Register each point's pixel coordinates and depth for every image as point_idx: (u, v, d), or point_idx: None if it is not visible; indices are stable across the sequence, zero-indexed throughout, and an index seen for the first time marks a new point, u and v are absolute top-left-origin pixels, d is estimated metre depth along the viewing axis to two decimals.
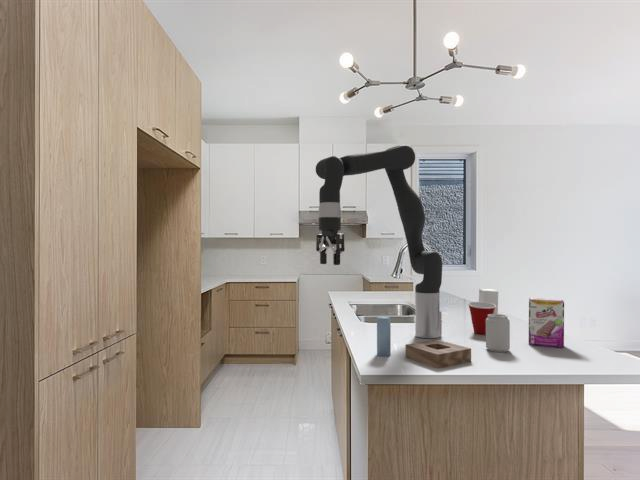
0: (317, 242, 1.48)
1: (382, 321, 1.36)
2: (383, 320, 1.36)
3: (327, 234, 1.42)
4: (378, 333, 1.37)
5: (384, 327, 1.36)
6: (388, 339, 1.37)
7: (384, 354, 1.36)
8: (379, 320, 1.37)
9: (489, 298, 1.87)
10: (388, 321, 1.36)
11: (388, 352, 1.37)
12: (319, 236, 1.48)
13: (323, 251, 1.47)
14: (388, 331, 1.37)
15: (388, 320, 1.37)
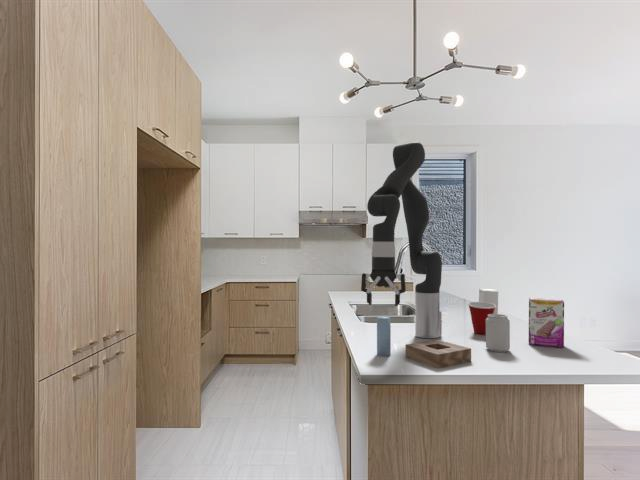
0: (363, 282, 1.39)
1: (382, 321, 1.36)
2: (383, 320, 1.36)
3: (383, 274, 1.37)
4: (378, 333, 1.37)
5: (384, 327, 1.36)
6: (388, 339, 1.37)
7: (384, 354, 1.36)
8: (379, 320, 1.37)
9: (489, 298, 1.87)
10: (388, 321, 1.36)
11: (388, 352, 1.37)
12: (366, 275, 1.39)
13: (370, 291, 1.40)
14: (388, 331, 1.37)
15: (388, 320, 1.37)
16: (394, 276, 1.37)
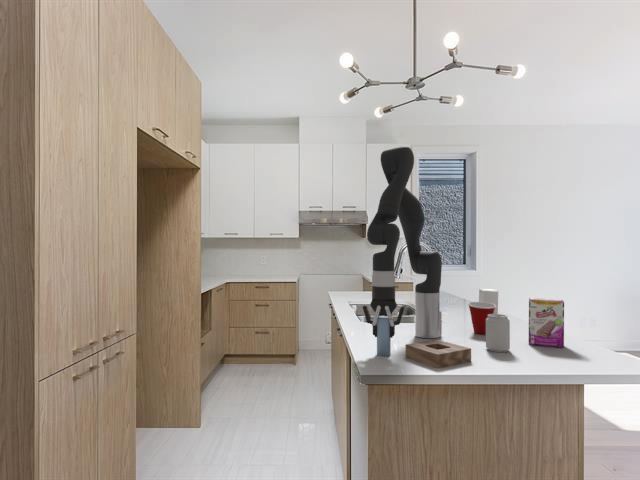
0: (366, 314, 1.39)
1: (382, 321, 1.36)
2: (383, 320, 1.36)
3: (384, 303, 1.37)
4: (378, 333, 1.37)
5: (384, 327, 1.36)
6: (388, 339, 1.37)
7: (384, 354, 1.36)
8: (379, 320, 1.37)
9: (489, 298, 1.87)
10: (388, 321, 1.36)
11: (388, 352, 1.37)
12: (366, 307, 1.39)
13: None
14: (388, 331, 1.37)
15: (388, 320, 1.37)
16: (394, 306, 1.36)
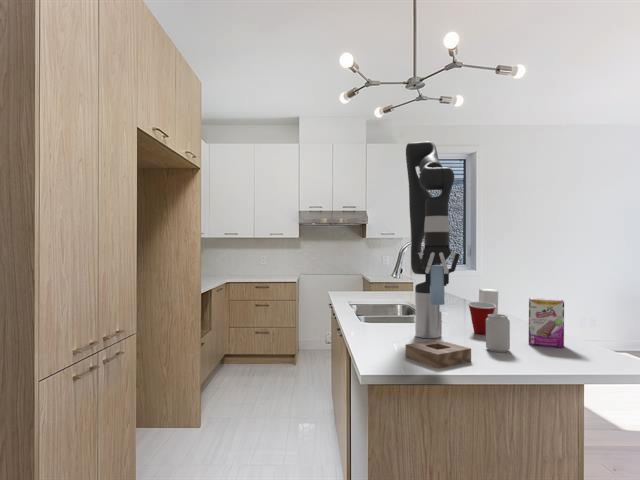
0: (419, 262, 1.33)
1: (436, 268, 1.31)
2: (437, 267, 1.31)
3: (437, 250, 1.32)
4: (432, 281, 1.32)
5: (438, 275, 1.31)
6: (442, 287, 1.31)
7: (438, 302, 1.30)
8: (433, 267, 1.31)
9: (489, 298, 1.87)
10: (442, 268, 1.31)
11: (442, 301, 1.31)
12: (419, 254, 1.34)
13: (429, 271, 1.33)
14: (442, 279, 1.31)
15: (442, 267, 1.31)
16: (449, 253, 1.31)
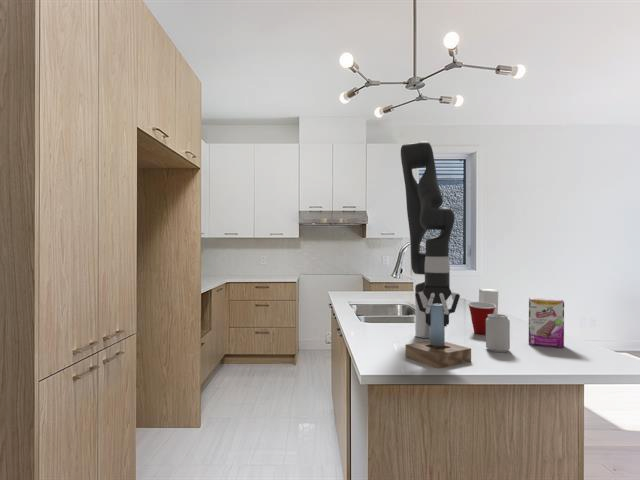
0: (419, 301, 1.33)
1: (436, 309, 1.31)
2: (437, 308, 1.30)
3: (438, 290, 1.32)
4: (432, 321, 1.31)
5: (438, 315, 1.30)
6: (442, 328, 1.31)
7: (438, 343, 1.30)
8: (433, 308, 1.31)
9: (489, 298, 1.87)
10: (442, 309, 1.31)
11: (442, 341, 1.31)
12: (419, 294, 1.33)
13: None
14: (442, 319, 1.31)
15: (442, 308, 1.31)
16: (449, 293, 1.31)
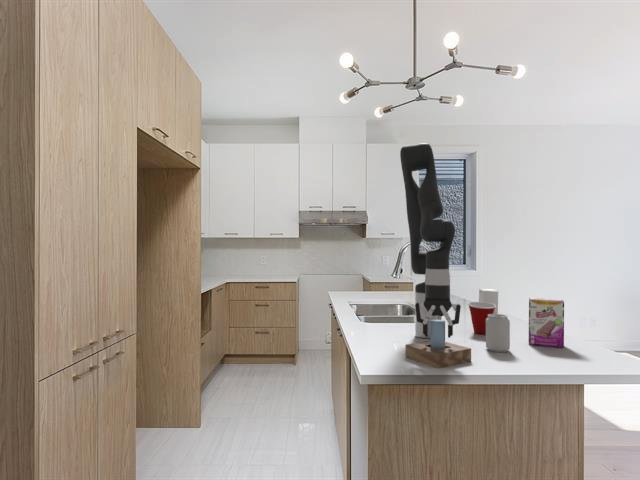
0: (418, 312, 1.33)
1: (437, 324, 1.31)
2: (438, 323, 1.30)
3: (438, 303, 1.32)
4: (432, 337, 1.31)
5: (439, 331, 1.30)
6: (443, 343, 1.31)
7: None
8: (434, 323, 1.31)
9: (489, 298, 1.87)
10: (443, 324, 1.31)
11: None
12: (419, 305, 1.33)
13: (426, 322, 1.33)
14: (443, 335, 1.31)
15: (443, 323, 1.31)
16: (449, 305, 1.31)
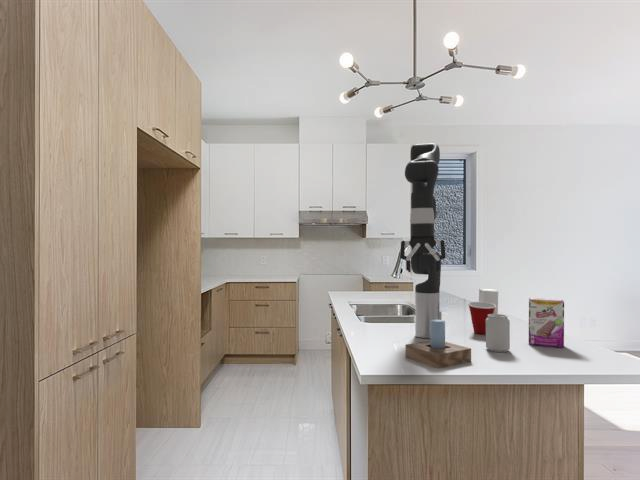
0: (402, 249, 1.38)
1: (437, 324, 1.31)
2: (438, 323, 1.30)
3: (423, 241, 1.37)
4: (432, 337, 1.31)
5: (439, 331, 1.30)
6: (443, 343, 1.31)
7: None
8: (434, 323, 1.31)
9: (489, 298, 1.87)
10: (443, 324, 1.31)
11: None
12: (404, 243, 1.39)
13: (409, 258, 1.39)
14: (443, 335, 1.31)
15: (443, 323, 1.31)
16: (434, 242, 1.36)
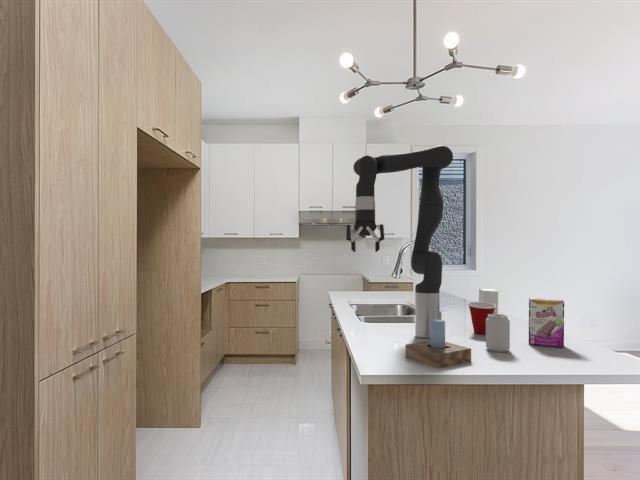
0: (348, 232, 1.61)
1: (437, 324, 1.31)
2: (438, 323, 1.30)
3: (365, 225, 1.60)
4: (432, 337, 1.31)
5: (439, 331, 1.30)
6: (443, 343, 1.31)
7: None
8: (434, 323, 1.31)
9: (489, 298, 1.87)
10: (443, 324, 1.31)
11: None
12: (350, 226, 1.62)
13: (354, 240, 1.62)
14: (443, 335, 1.31)
15: (443, 323, 1.31)
16: (374, 226, 1.59)
